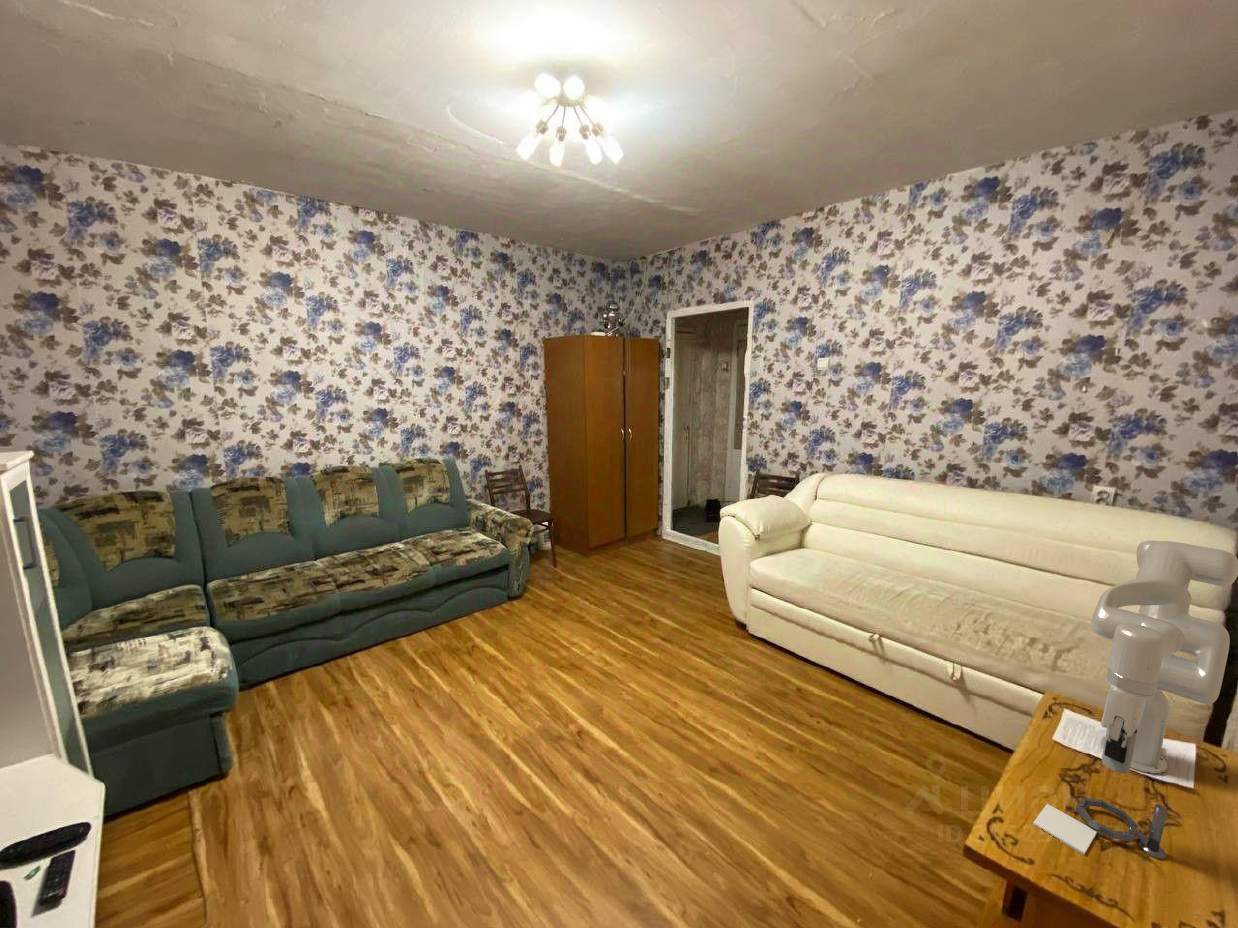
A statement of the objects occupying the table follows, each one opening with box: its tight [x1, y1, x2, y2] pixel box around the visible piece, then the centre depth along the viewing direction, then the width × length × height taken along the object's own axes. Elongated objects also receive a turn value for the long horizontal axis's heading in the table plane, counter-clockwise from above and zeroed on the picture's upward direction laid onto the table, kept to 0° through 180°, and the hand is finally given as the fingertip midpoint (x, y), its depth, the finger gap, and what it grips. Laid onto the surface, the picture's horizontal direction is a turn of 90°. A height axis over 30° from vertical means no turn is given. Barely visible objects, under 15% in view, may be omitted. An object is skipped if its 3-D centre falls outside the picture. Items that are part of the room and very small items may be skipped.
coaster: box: [1032, 803, 1098, 856], centre depth 113 cm, size 9×9×1 cm
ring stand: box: [1076, 796, 1168, 860], centre depth 111 cm, size 10×14×11 cm
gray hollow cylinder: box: [1101, 725, 1137, 775], centre depth 111 cm, size 4×4×10 cm
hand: (1117, 752), depth 111 cm, fingers closed on gray hollow cylinder, 4 cm apart
